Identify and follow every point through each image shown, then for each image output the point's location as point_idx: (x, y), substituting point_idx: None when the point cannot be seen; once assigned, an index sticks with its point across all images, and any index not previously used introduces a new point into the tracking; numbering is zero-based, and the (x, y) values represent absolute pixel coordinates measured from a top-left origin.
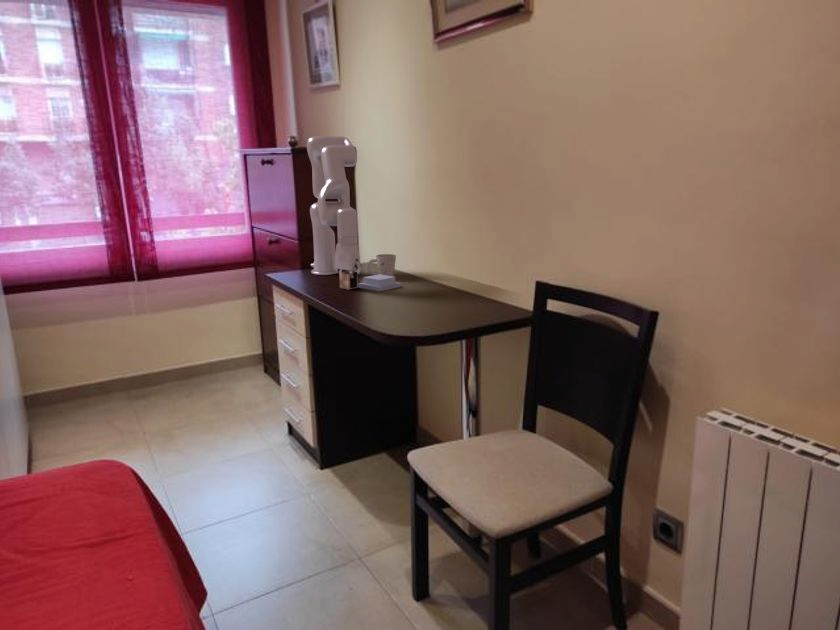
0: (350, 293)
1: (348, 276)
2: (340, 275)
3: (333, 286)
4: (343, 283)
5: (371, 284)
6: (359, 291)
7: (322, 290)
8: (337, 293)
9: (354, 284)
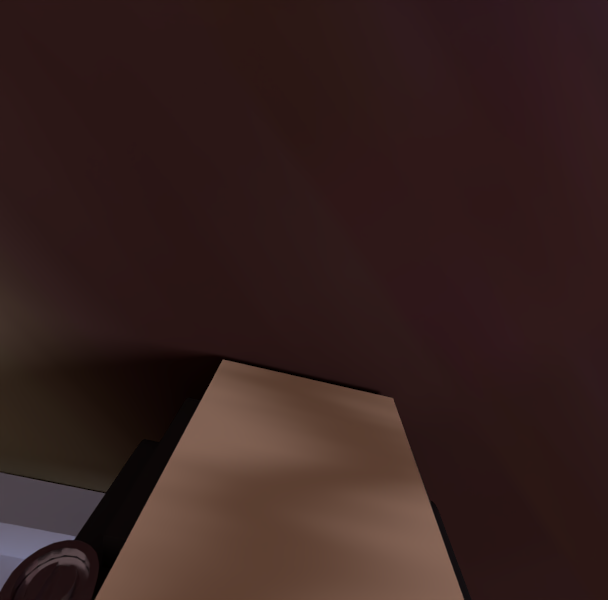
0: (44, 190)
1: (123, 561)
2: (429, 597)
3: (533, 448)
4: (318, 431)
5: (17, 566)
6: (51, 356)
7: (579, 163)
8: (211, 80)
9: (137, 458)
